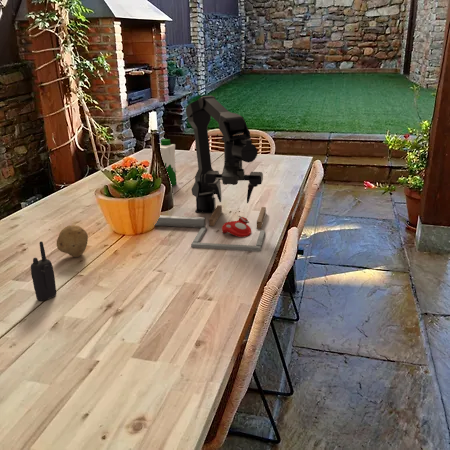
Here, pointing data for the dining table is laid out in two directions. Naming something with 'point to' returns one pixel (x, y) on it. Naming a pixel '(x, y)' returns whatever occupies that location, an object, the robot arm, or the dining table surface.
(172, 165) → the milk carton
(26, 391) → the dining table surface
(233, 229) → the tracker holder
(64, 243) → the potato
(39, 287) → the two-way radio
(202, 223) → the bar
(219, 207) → the stall
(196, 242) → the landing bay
